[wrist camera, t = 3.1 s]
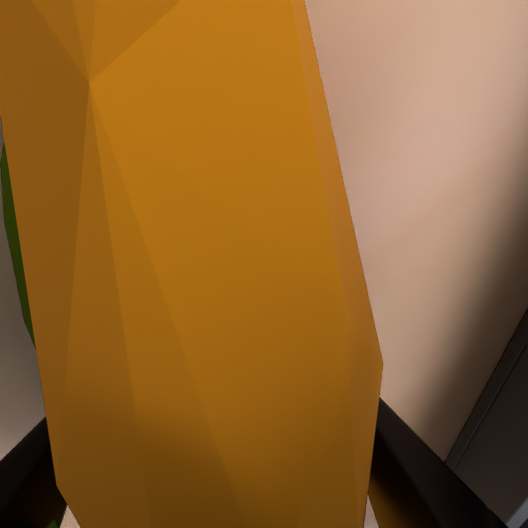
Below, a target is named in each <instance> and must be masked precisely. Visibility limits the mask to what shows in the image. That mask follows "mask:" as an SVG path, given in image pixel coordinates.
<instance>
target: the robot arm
mask: <svg viewBox="0 0 528 528" xmlns="http://www.w3.org/2000/svg"><path fill="white" fill-rule="evenodd" d="M368 496H369V499H370V502H371V505H372V508H373V511H374V514H375V517H376V520H377V523H378V526H379V528H509V527H508V526H507V525H506V524H505V523H504V522H503V521H502V520H501V519H500V518H499V517H498V516H497V515H496V514H495V513H494V512H493V511H492V510H491V509H490V508H488V509H487V505H486V504H485V503H484V502H483V501H482V500H481V499H480V498H479V497H478V496H477V495H476V494H475V493H474V492H473V491H472V490H471V489H470V488H469V487H468V486H467V485H466V484H465V483H464V482H463V481H462V480H461V479H460V478H459V477H458V476H457V475H456V474H455V473H454V472H453V471H452V470H451V469H450V468H449V467H448V466H447V465H446V464H445V463H444V462H443V461H442V460H441V459H440V458H439V457H438V456H437V455H436V454H435V453H434V452H433V450H432V449H431V448H430V447H429V446H428V445H427V444H426V443H425V442H424V441H423V440H422V439H421V438H420V437H419V436H418V435H417V434H416V433H415V432H414V431H413V430H412V429H411V428H410V427H409V426H408V425H407V424H406V423H405V422H404V421H403V420H402V419H401V418H400V417H399V416H398V415H397V414H396V413H395V412H394V411H393V410H392V409H391V408H390V407H389V406H388V405H387V404H386V403H385V402H384V401H383V400H382V399H381V398H380V397H379V403H378V412H377V420H376V428H375V437H374V445H373V453H372V462H371V470H370V478H369V487H368ZM66 508H67V503H66V501H65V499H64V498H63V496H62V494H61V493H60V491H59V489H58V487H57V485H56V478H55V471H54V465H53V458H52V452H51V445H50V438H49V432H48V425H47V419H46V416H45V417H44V418H43V419H42V420H41V421H40V422H39V423H38V424H37V425H36V426H35V427H34V428H33V429H32V430H31V431H30V432H29V433H28V434H27V435H26V436H25V437H24V438H23V439H22V440H21V441H20V442H19V443H18V444H17V445H16V446H15V447H14V448H13V449H12V450H11V451H10V452H9V453H8V454H7V455H6V456H5V457H4V458H3V459H2V460H1V461H0V528H47V527H48V526H49V524H50V523H51V522H52V521H53V520H55V522H56V524H57V527H58V528H60V526H61V523H62V520H63V517H64V514H65V511H66Z"/></svg>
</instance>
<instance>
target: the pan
mask: <svg viewBox="0 0 528 528" xmlns="http://www.w3.org/2000/svg"><path fill="white" fill-rule="evenodd" d="M445 464H446V465H447V466H448V467H449V468H450V469H451V470H452V471H453V472H454V473H455V474H456V475H457V476H458V477H459V478H460V479H461V480H462V481H463V482H464V483H465V484H466V485H467V486H468V487H469V488H470V489H471V490H472V491H473V492H474V493H475V494H476V495H477V496H478V497H479V498H480V499H481V500H482V501H483V502H484V503H485V504H486V505H487V509H488V508H490V509H491V510H492V511H493V512H494V513H495V514H496V515H497V516H498V517H499V518H500V519H501V520H502V521H503V522H504V523H505V524H506V525H507V526H508V527H509V528H528V311H527V313H526V315H525V316H524V318H523V320H522V322H521V324H520V326H519V327H518V329H517V331H516V333H515V335H514V337H513V338H512V340H511V342H510V344H509V346H508V348H507V350H506V351H505V353H504V355H503V357H502V359H501V361H500V362H499V364H498V366H497V368H496V370H495V372H494V373H493V375H492V377H491V379H490V381H489V383H488V385H487V386H486V388H485V390H484V392H483V394H482V396H481V397H480V399H479V401H478V403H477V405H476V407H475V408H474V410H473V412H472V414H471V416H470V418H469V420H468V421H467V423H466V425H465V427H464V429H463V431H462V432H461V434H460V436H459V438H458V440H457V442H456V444H455V445H454V447H453V449H452V451H451V453H450V455H449V456H448V458H447V460H446V462H445Z"/></svg>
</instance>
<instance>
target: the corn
mask: <svg viewBox="0 0 528 528" xmlns="http://www.w3.org/2000/svg"><path fill="white" fill-rule="evenodd" d="M0 115H1V122H2V128H3V135H4V146H3V151H2V156H1V160H0V168H1V183H2V198H3V212H4V223H5V228H6V233H7V238H8V243H9V248H10V253H11V258H12V263H13V268H14V273H15V278H16V283H17V288H18V292H19V297H20V302H21V307H22V312H23V317H24V322H25V324H26V327H27V329H28V332H29V334H30V336H31V339H32V341H33V344H34V346H35V349H36V353H37V359H38V366H39V372H40V379H41V386H42V392H43V399H44V405H45V412H46V419H47V425H48V432H49V438H50V445H51V452H52V458H53V465H54V471H55V478H56V485H57V487H58V489H59V491H60V493H61V494H62V496H63V498H64V499H65V501H66V503H67V505H68V506H69V508H70V510H71V512H72V513H73V515H74V517H75V519H76V520H77V522H78V524H79V525H80V527H81V528H364V520H365V512H366V503H367V495H368V487H369V478H370V470H371V462H372V453H373V445H374V437H375V428H376V420H377V412H378V403H379V395H380V387H381V378H382V370H383V360H382V356H381V351H380V347H379V342H378V337H377V333H376V328H375V324H374V319H373V314H372V310H371V305H370V301H369V296H368V291H367V287H366V282H365V278H364V273H363V268H362V264H361V259H360V255H359V250H358V245H357V241H356V236H355V232H354V227H353V222H352V218H351V213H350V209H349V204H348V199H347V195H346V190H345V186H344V181H343V176H342V172H341V167H340V163H339V158H338V153H337V149H336V144H335V140H334V135H333V130H332V126H331V121H330V117H329V112H328V107H327V103H326V98H325V94H324V89H323V84H322V80H321V75H320V71H319V66H318V61H317V57H316V52H315V48H314V43H313V38H312V34H311V29H310V25H309V20H308V15H307V11H306V6H305V2H304V0H0ZM47 528H58V527H57V524H56V522H55V520H53V521H52V522H51V523H50V524H49V526H48V527H47Z"/></svg>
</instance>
